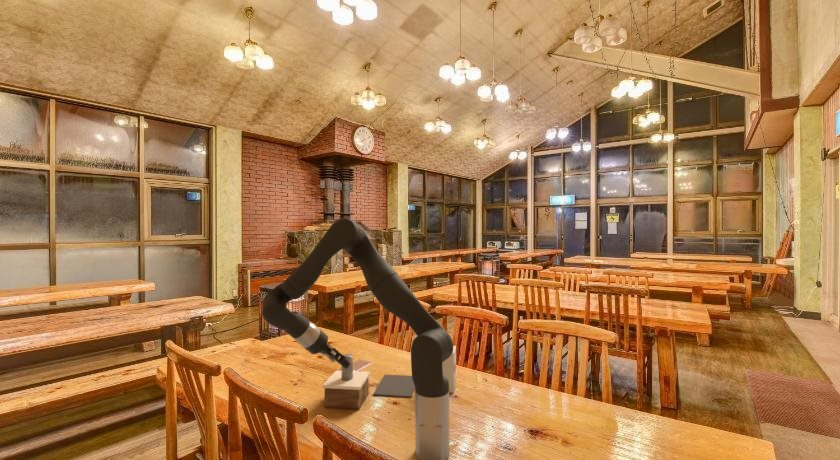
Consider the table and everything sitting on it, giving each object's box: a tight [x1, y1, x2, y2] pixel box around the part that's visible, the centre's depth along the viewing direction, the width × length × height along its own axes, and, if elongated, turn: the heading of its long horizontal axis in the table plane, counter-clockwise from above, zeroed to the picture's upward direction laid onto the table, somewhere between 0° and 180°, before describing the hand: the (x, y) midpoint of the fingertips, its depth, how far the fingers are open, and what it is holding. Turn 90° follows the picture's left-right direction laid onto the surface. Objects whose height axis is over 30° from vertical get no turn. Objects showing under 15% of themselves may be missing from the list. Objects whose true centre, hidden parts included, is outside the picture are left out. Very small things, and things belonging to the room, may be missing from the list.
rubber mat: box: [372, 374, 415, 399], centre depth 146 cm, size 18×14×1 cm
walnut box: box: [324, 378, 370, 411], centre depth 134 cm, size 12×12×7 cm
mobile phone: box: [338, 359, 373, 371], centre depth 166 cm, size 8×1×15 cm
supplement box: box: [442, 345, 457, 394], centre depth 144 cm, size 9×9×15 cm
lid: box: [322, 353, 371, 390], centre depth 134 cm, size 13×13×10 cm
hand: (341, 362), depth 132 cm, fingers open, 8 cm apart
